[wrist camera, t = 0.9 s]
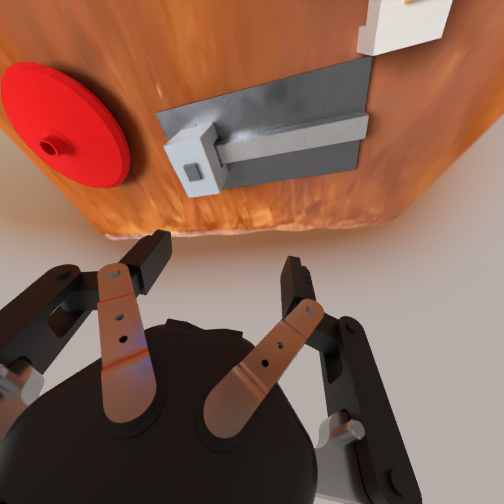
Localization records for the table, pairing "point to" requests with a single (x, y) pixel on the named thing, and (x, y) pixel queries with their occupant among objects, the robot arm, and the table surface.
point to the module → (401, 24)
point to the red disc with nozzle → (65, 125)
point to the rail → (284, 124)
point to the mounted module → (197, 160)
